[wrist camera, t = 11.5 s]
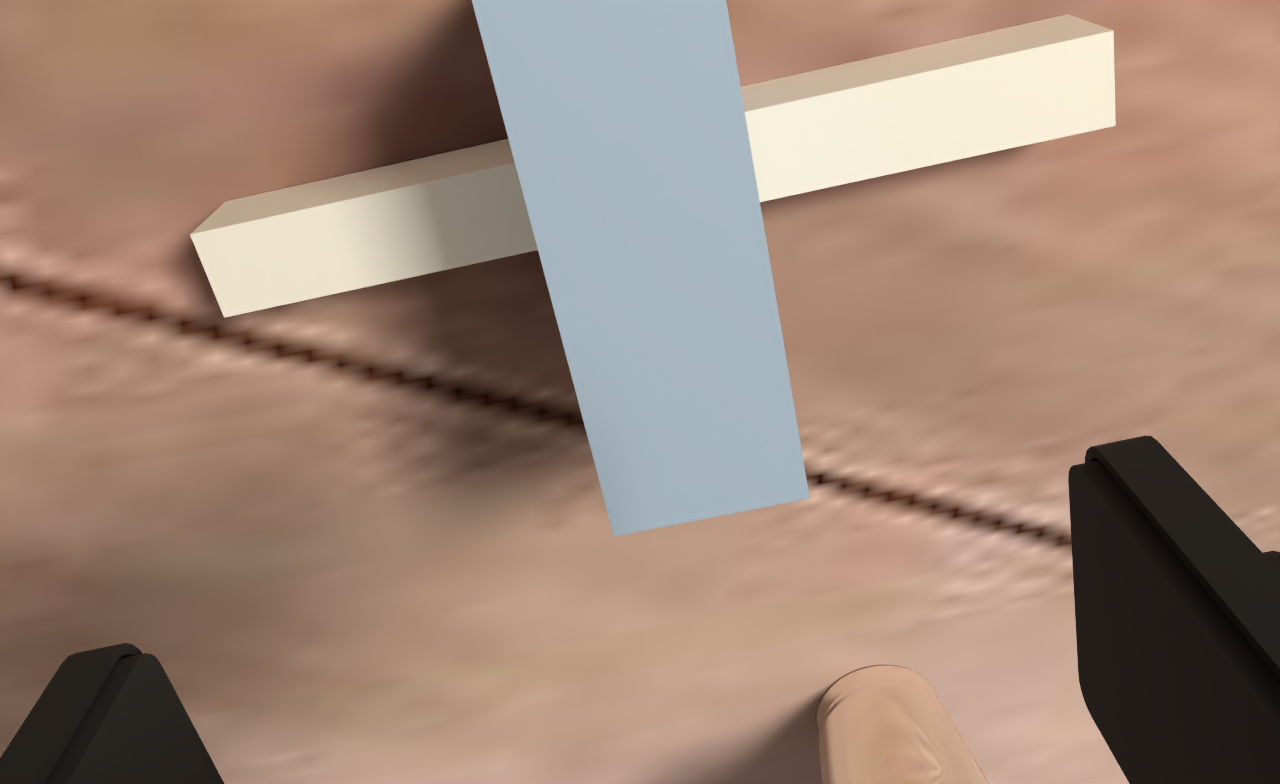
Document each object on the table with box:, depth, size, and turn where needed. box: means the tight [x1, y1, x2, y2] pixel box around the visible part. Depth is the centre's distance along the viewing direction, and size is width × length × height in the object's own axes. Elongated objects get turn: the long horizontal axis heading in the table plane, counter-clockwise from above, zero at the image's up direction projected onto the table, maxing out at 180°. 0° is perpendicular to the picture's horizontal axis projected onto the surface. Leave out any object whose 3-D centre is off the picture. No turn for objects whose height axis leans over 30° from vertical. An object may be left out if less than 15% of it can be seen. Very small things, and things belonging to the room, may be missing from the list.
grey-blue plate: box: [472, 0, 809, 536], centre depth 27 cm, size 12×4×10 cm, turn 12°
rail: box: [190, 14, 1115, 318], centre depth 30 cm, size 2×24×3 cm, turn 102°
